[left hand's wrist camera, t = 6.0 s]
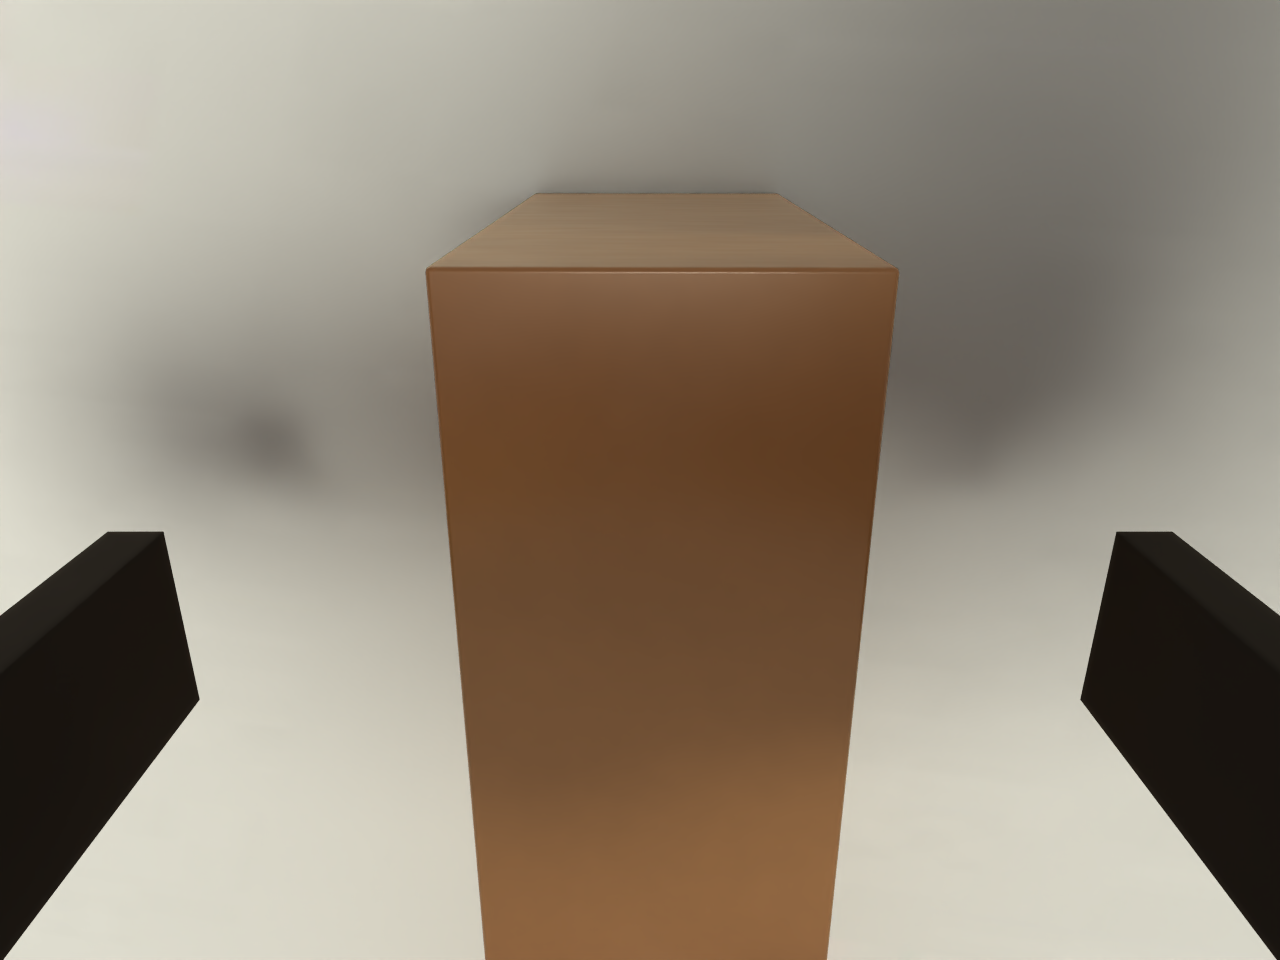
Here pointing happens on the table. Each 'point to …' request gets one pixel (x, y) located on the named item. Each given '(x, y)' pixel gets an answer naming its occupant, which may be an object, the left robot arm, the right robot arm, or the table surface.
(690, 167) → the table surface
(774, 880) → the beam
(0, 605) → the table surface
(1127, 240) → the table surface
